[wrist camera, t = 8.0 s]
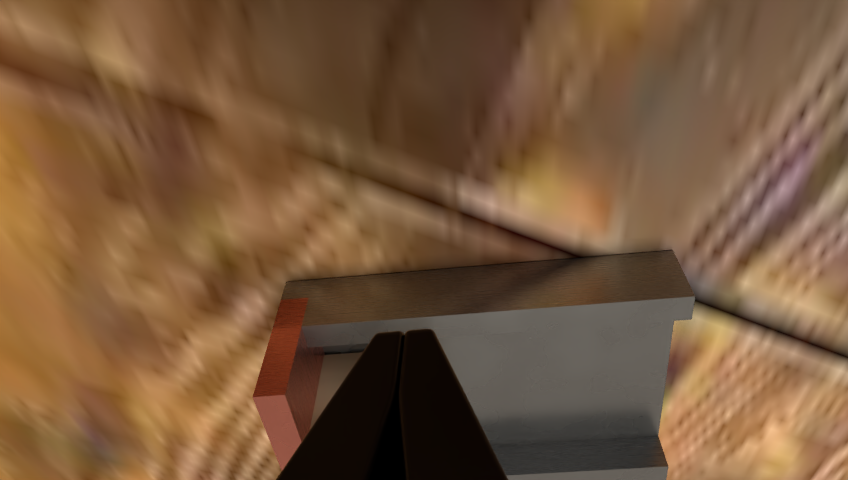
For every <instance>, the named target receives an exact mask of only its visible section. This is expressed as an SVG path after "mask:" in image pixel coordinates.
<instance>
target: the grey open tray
mask: <svg viewBox="0 0 848 480" xmlns="http://www.w3.org/2000/svg"><path fill="white" fill-rule="evenodd" d="M694 301H695V295H694V293H693V291H692V289H691V287H690V285H689V283H688V281H687V278H686V276H685V274H684V272H683V270H682V268H681V266H680V264H679V262H678V260H677V258H676V256H675V254H674V252H673V250H671V251H658V252H646V253H634V254H622V255H610V256H598V257H585V258H573V259H561V260H549V261H537V262H525V263H512V264H500V265H488V266H476V267H464V268H452V269H439V270H427V271H415V272H403V273H391V274H379V275H366V276H354V277H342V278H330V279H318V280H306V281H293V282H286V285H285V289H284V292H283V295H282V299H281V302H280V306H279V309H278V312H277V316H276V319H275V323H274V326H273V329H272V333H271V336H270V340H269V343H268V347H267V350H266V353H265V357H264V360H263V364H262V367H261V370H260V374H259V377H258V381H257V384H256V388H255V391H254V394H253V399H254V402H255V404H256V407H257V409H258V412H259V414H260V417H261V419H262V422H263V424H264V427H265V429H266V432H267V435H268V437H269V440H270V442H271V445H272V447H273V450H274V452H275V455H276V457H277V460H278V462H279V465H280V467H281V470H283V469H284V467H285V466H286V464H287V463H288V461H289V460H290V458H291V457H292V455H293V454H294V453H295V451H296V450H297V448H298V447H299V445H300V444H301V442H302V441H303V439H304V438H305V436H306V435H307V433H308V432H309V430H310V426H311V421H312V415H313V410H314V405H315V400H316V395H317V389H318V384H319V379H320V374H321V369H322V363H323V358H324V355H332V354H346V353H359V352H363V351H364V350H365V348H366V347H367V345H368V344H369V342H370V341H371V339H372V338H373V337H374V335H375V334H377V333H379V332H391V331H401V332H403V333H404V334H405V333H406V332H407V331H408V330H417V329H432V330H433V331H434V332H435V334H436V336H437V338H438V340H439V342H440V344H441V346H442V348H443V350H444V352H445V354H446V356H447V358H448V360H449V362H450V364H451V366H452V368H453V370H454V372H455V374H456V376H457V378H458V380H459V382H460V384H461V386H462V388H463V390H464V392H465V394H466V396H467V398H468V400H469V402H470V404H471V406H472V408H473V410H474V412H475V414H476V416H477V418H478V420H479V422H480V424H481V426H482V428H483V430H484V432H485V434H486V436H487V438H488V440H489V442H490V444H491V446H492V448H493V450H494V452H495V454H496V456H497V458H498V460H499V462H500V464H501V466H502V468H503V470H504V472H505V474H506V476H507V478H508V480H666V477H667V471H668V464H667V461H666V458H665V455H664V452H663V449H662V446H661V443H660V440H659V437H658V433H659V425H660V418H661V411H662V404H663V396H664V389H665V382H666V375H667V367H668V360H669V353H670V346H671V339H672V331H673V324H674V321H675V320H689V319H692V314H693V307H694Z"/></svg>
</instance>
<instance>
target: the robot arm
mask: <svg viewBox="0 0 848 480" xmlns="http://www.w3.org/2000/svg"><path fill="white" fill-rule="evenodd" d="M276 480H508V478H507V476H506V474H505V472H504V470H503V468H502V466H501V464H500V462H499V460H498V458H497V456H496V454H495V452H494V450H493V448H492V446H491V444H490V442H489V440H488V438H487V436H486V434H485V432H484V430H483V428H482V426H481V424H480V422H479V420H478V418H477V416H476V414H475V412H474V410H473V408H472V406H471V404H470V402H469V400H468V398H467V396H466V394H465V392H464V390H463V388H462V386H461V384H460V382H459V380H458V378H457V376H456V374H455V372H454V370H453V368H452V366H451V364H450V362H449V360H448V358H447V356H446V354H445V352H444V350H443V348H442V346H441V344H440V342H439V340H438V338H437V336H436V334H435V332H434V331H433V330H432V329H417V330H408V331H407V332H406V333H405V334H404V333H403V332H401V331H391V332H379V333H377V334H375V335H374V337H373V338H372V339H371V341H370V342H369V344H368V345H367V347H366V348H365V350H364V351H363V353H362V354H361V356H360V357H359V358H358V360H357V361H356V363H355V364H354V366H353V367H352V369H351V370H350V372H349V373H348V375H347V376H346V378H345V379H344V381H343V382H342V383H341V385H340V386H339V388H338V389H337V391H336V392H335V394H334V395H333V397H332V398H331V400H330V401H329V403H328V404H327V405H326V407H325V408H324V410H323V411H322V413H321V414H320V416H319V417H318V419H317V420H316V422H315V423H314V425H313V426H312V428H311V429H310V430H309V432H308V433H307V435H306V436H305V438H304V439H303V441H302V442H301V444H300V445H299V447H298V448H297V450H296V451H295V453H294V454H293V455H292V457H291V458H290V460H289V461H288V463H287V464H286V466H285V467H284V469H283V470H282V472H281V473H280V475H279V476H278V477H277V479H276Z"/></svg>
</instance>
